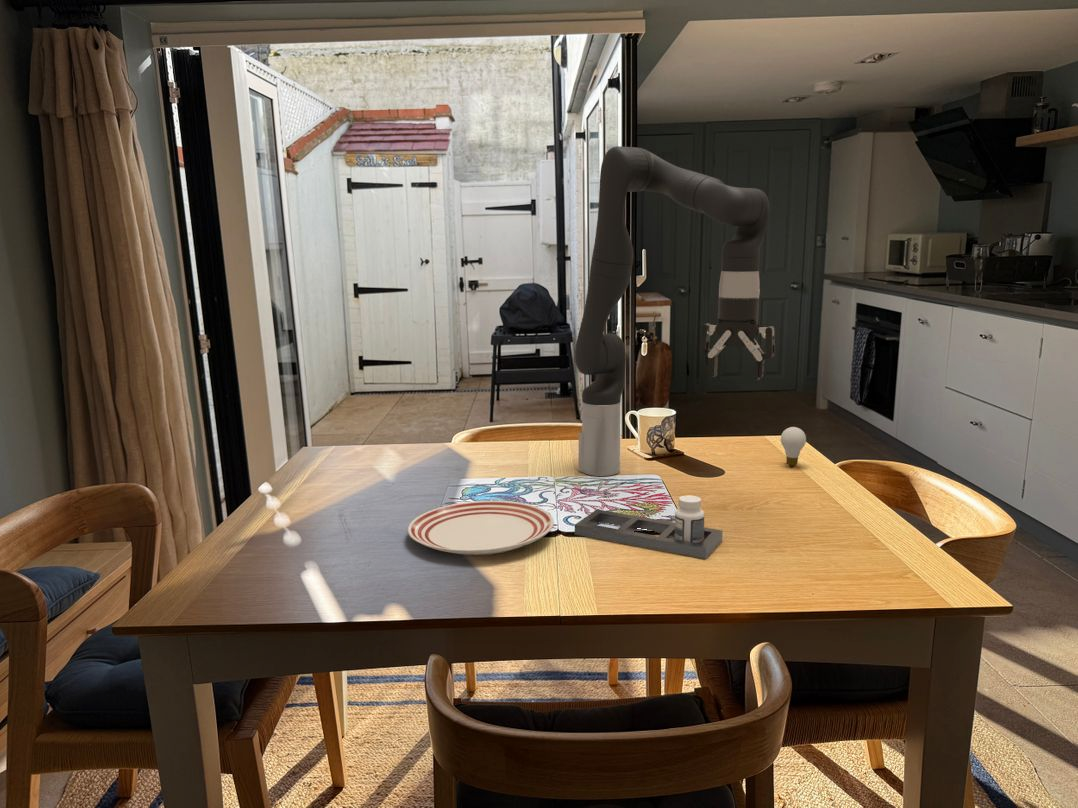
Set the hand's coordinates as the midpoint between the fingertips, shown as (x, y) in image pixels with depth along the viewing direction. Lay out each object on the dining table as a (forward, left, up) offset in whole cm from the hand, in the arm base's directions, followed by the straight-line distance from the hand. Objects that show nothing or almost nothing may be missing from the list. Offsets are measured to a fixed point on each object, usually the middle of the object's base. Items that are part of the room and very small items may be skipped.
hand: (735, 378), depth 156 cm
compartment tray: (-10, -20, -28) cm, 36 cm away
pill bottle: (-2, -20, -28) cm, 35 cm away
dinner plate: (-38, -34, -29) cm, 58 cm away
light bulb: (+4, +41, -28) cm, 50 cm away
